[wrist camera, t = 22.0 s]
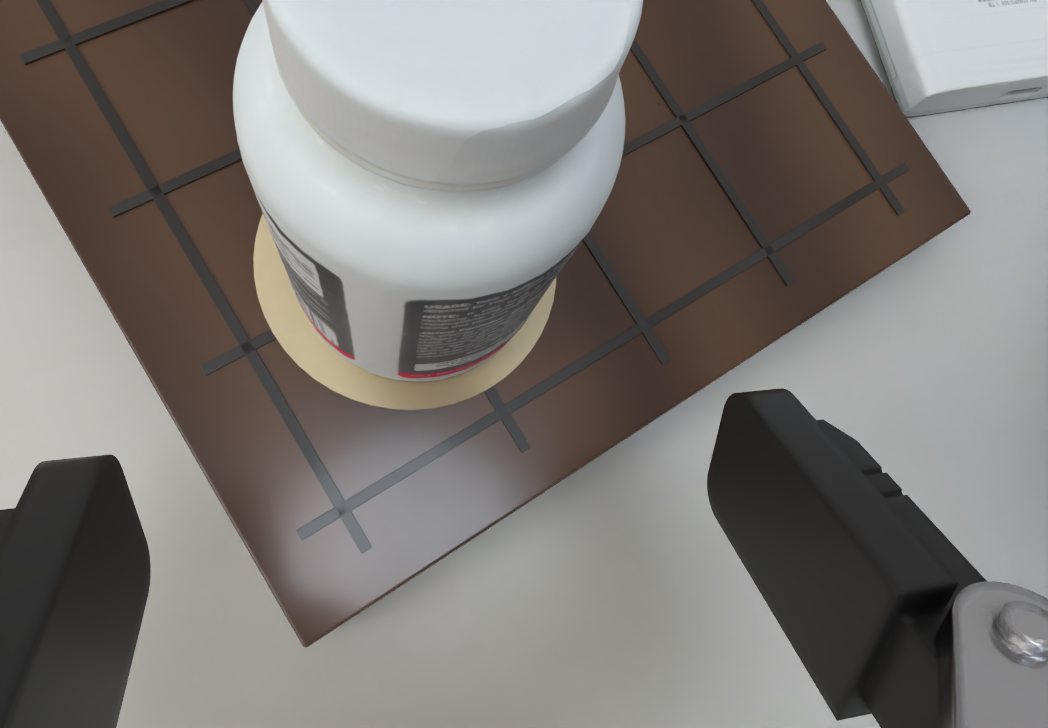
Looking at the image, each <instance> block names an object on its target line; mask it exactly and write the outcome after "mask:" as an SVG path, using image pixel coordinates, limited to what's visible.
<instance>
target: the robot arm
mask: <svg viewBox="0 0 1048 728" xmlns="http://www.w3.org/2000/svg"><path fill="white" fill-rule="evenodd" d="M881 468H882V467H881V466H880V465H879V464H878V463H877V462H876V461H875V460H874V459H873V458H872V456H871V455H870V454H869V453H868V452H867V451H866V450H865V449H864V448H863V447H862V446H861V445H860V443H859V442H858V441H856V440H855V439H853V438H852V437H850V436H848V435H847V434H845V433H844V432H842V431H840V430H839V429H837V428H836V427H834V426H833V425H831V424H829V423H828V422H826V421H825V420H815V419H814V417H813V416H812V415H811V414H810V413H809V412H808V411H807V409H806V408H805V407H804V406H803V405H802V404H801V403H800V402H799V400H798V399H797V398H796V397H795V396H794V395H793V394H792V393H791V392H790V391H788V390H786V389H771V390H762V391H752V392H742V393H734V394H732V395H731V396H729V398H728V399H727V401H726V403H725V406H724V410H723V414H722V418H721V422H720V426H719V430H718V435H717V439H716V443H715V447H714V451H713V455H712V459H711V463H710V468H709V472H708V479H707V488H708V496H709V501H710V505H711V508H712V511H713V513H714V515H715V517H716V519H717V521H718V522H719V524H720V526H721V527H722V529H723V531H724V532H725V534H726V536H727V537H728V539H729V541H730V542H731V544H732V546H733V547H734V549H735V551H736V552H737V554H738V556H739V558H740V559H741V561H742V563H743V564H744V566H745V568H746V569H747V571H748V573H749V574H750V576H751V578H752V579H753V581H754V583H755V584H756V586H757V588H758V589H759V591H760V593H761V594H762V596H763V598H764V599H765V601H766V603H767V604H768V606H769V608H770V609H771V611H772V613H773V614H774V616H775V618H776V619H777V621H778V623H779V624H780V626H781V628H782V629H783V631H784V633H785V634H786V636H787V638H788V639H789V641H790V643H791V644H792V646H793V648H794V649H795V651H796V653H797V654H798V656H799V658H800V659H801V661H802V663H803V664H804V666H805V668H806V669H807V671H808V673H809V674H810V676H811V678H812V679H813V681H814V683H815V684H816V686H817V688H818V689H819V691H820V693H821V694H822V696H823V698H824V700H825V701H826V703H827V705H828V706H829V708H830V710H831V711H832V713H833V715H834V716H835V718H836V720H842V719H847V718H852V717H856V716H861V715H866V714H871V713H872V714H873V716H874V718H875V719H876V721H877V722H878V724H879V725H880V727H881V728H1048V599H1046V598H1045V597H1043V596H1041V595H1039V594H1037V593H1034V592H1032V591H1030V590H1027V589H1025V588H1022V587H1019V586H1015V585H1012V584H1008V583H1001V582H987V581H986V580H985V579H984V578H983V577H982V576H981V575H980V573H979V572H978V571H977V570H976V569H975V568H974V567H973V566H972V565H971V564H970V563H969V562H968V560H967V559H966V558H965V557H964V556H963V555H962V554H961V553H960V552H959V551H958V550H957V549H956V547H955V546H954V545H953V544H952V543H951V542H950V541H949V540H948V539H947V538H946V537H945V536H944V534H943V533H942V532H941V531H940V530H939V529H938V528H937V527H936V526H935V525H934V524H933V523H932V521H931V520H930V519H929V518H928V517H927V516H926V515H925V514H924V513H923V512H922V511H921V510H920V508H919V507H918V506H917V505H916V504H915V503H914V502H913V501H912V500H911V499H910V498H909V497H908V495H904V496H903V494H902V489H901V488H900V487H899V486H898V485H897V484H896V482H895V481H894V480H893V479H892V478H891V477H890V476H889V475H888V474H887V473H882V470H881ZM149 586H150V556H149V549H148V545H147V541H146V538H145V535H144V532H143V529H142V526H141V523H140V520H139V517H138V514H137V511H136V508H135V505H134V502H133V500H132V497H131V494H130V491H129V488H128V485H127V482H126V479H125V476H124V473H123V470H122V467H121V465H120V463H119V461H118V460H117V458H116V457H115V456H113V455H102V456H92V457H82V458H72V459H62V460H52V461H44V462H41V463H39V464H38V465H37V466H36V467H35V469H34V471H33V473H32V475H31V477H30V479H29V481H28V483H27V485H26V487H25V489H24V492H23V494H22V496H21V498H20V500H19V502H18V504H17V506H16V508H14V509H5V510H0V728H116V726H117V722H118V718H119V713H120V709H121V705H122V701H123V697H124V693H125V688H126V684H127V680H128V676H129V672H130V668H131V664H132V659H133V655H134V651H135V647H136V643H137V639H138V634H139V630H140V626H141V622H142V618H143V614H144V610H145V605H146V601H147V597H148V592H149Z"/></svg>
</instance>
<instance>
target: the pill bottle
mask: <svg viewBox="0 0 1048 728" xmlns="http://www.w3.org/2000/svg"><path fill="white" fill-rule="evenodd" d="M642 6H643V0H262V3H261V4H260V6H259V8H258V9H257V11H256V13H255V14H254V16H253V18H252V20H251V22H250V24H249V26H248V28H247V31H246V33H245V36H244V39H243V41H242V44H241V47H240V50H239V53H238V57H237V62H236V67H235V73H234V83H233V114H234V122H235V128H236V133H237V141H238V145H239V148H240V152H241V156H242V160H243V164H244V166H245V169H246V171H247V174H248V176H249V179H250V181H251V184H252V187H253V189H254V192H255V195H256V197H257V200H258V202H259V205H260V207H261V209H262V212H263V215H264V218H265V221H266V223H267V225H268V227H269V230H270V233H271V235H272V237H273V240H274V242H275V244H276V247H277V249H278V252H279V255H280V257H281V260H282V262H283V264H284V266H285V269H286V271H287V274H288V277H289V280H290V283H291V286H292V288H293V290H294V293H295V295H296V298H297V300H298V302H299V304H300V306H301V308H302V310H303V311H304V313H305V315H306V317H307V318H308V320H309V322H310V323H311V325H312V326H313V328H314V329H315V331H316V332H317V333H318V335H319V336H320V337H321V338H322V339H323V340H324V342H325V343H326V344H327V345H328V346H329V347H330V348H331V349H333V350H334V351H335V352H336V353H337V354H339V355H340V356H341V357H343V358H344V359H346V360H347V361H349V362H350V363H352V364H354V365H356V366H358V367H360V368H362V369H363V370H365V371H367V372H370V373H373V374H376V375H379V376H382V377H386V378H390V379H394V380H402V381H414V382H426V381H436V380H442V379H446V378H449V377H452V376H456V375H459V374H462V373H465V372H467V371H469V370H472V369H473V368H475V367H477V366H479V365H481V364H482V363H484V362H485V361H487V360H488V359H490V358H492V357H493V356H494V355H495V354H496V353H498V352H499V351H500V350H501V349H502V348H503V347H504V346H505V345H506V344H507V343H508V342H509V341H510V340H511V339H512V337H513V336H514V335H515V334H516V333H517V332H518V331H519V329H520V328H521V327H522V326H523V325H524V323H525V322H526V320H527V319H528V317H529V315H530V314H531V313H532V311H533V310H534V308H535V307H536V305H537V304H538V302H539V301H540V299H541V298H542V297H543V295H544V294H545V292H546V291H547V289H548V288H549V286H550V285H551V283H552V282H553V281H554V279H555V278H556V276H557V275H558V274H559V272H560V271H561V270H562V268H563V267H564V265H565V264H566V263H567V261H568V260H569V259H570V257H571V256H572V255H573V254H574V252H575V250H576V249H577V248H578V246H579V245H580V243H581V242H582V240H583V239H584V238H585V236H586V235H587V234H588V232H589V231H590V229H591V227H592V226H593V224H594V223H595V221H596V219H597V218H598V216H599V214H600V212H601V210H602V209H603V207H604V205H605V203H606V201H607V199H608V197H609V195H610V193H611V190H612V188H613V186H614V183H615V180H616V176H617V173H618V170H619V167H620V163H621V159H622V154H623V147H624V140H625V122H626V121H625V107H624V98H623V92H622V86H621V82H620V78H619V72H620V69H621V67H622V65H623V63H624V61H625V59H626V57H627V55H628V52H629V50H630V48H631V45H632V43H633V41H634V38H635V35H636V32H637V29H638V25H639V22H640V18H641V13H642Z"/></svg>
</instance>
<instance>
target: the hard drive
mask: <svg viewBox="0 0 1048 728" xmlns="http://www.w3.org/2000/svg"><path fill="white" fill-rule="evenodd" d="M861 1H862V4H863V7H864V10H865V13H866V16H867V19H868V22H869V25H870V27H871V30H872V33H873V36H874V39H875V42H876V44H877V47H878V50H879V53H880V56H881V59H882V62H883V65H884V67H885V70H886V73H887V76H888V79H889V81H890V84H891V87H892V90H893V93H894V96H895V98H896V101H897V103H898V106H899V108H900V109H901V111H902V112H903V114H904V115H905V116H907V117H909V116H921V115H928V114H934V113H941V112H948V111H955V110H962V109H969V108H975V107H982V106H988V105H995V104H1001V103H1009V102H1015V101H1022V100H1029V99H1035V98H1042V97H1048V0H861Z"/></svg>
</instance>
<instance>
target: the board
mask: <svg viewBox="0 0 1048 728" xmlns="http://www.w3.org/2000/svg"><path fill="white" fill-rule="evenodd" d="M261 3H262V0H0V120H1V122H2V123H3V125H4V127H5V129H6V130H7V132H8V134H9V136H10V137H11V139H12V141H13V143H14V144H15V146H16V148H17V150H18V151H19V153H20V155H21V156H22V158H23V160H24V162H25V163H26V165H27V167H28V169H29V170H30V172H31V174H32V176H33V177H34V179H35V181H36V183H37V184H38V186H39V188H40V190H41V191H42V193H43V195H44V196H45V198H46V200H47V202H48V203H49V205H50V207H51V209H52V210H53V212H54V214H55V216H56V217H57V219H58V221H59V223H60V224H61V226H62V228H63V230H64V231H65V233H66V235H67V236H68V238H69V240H70V242H71V243H72V245H73V247H74V249H75V250H76V252H77V254H78V256H79V257H80V259H81V261H82V263H83V264H84V266H85V268H86V269H87V271H88V273H89V275H90V276H91V278H92V280H93V282H94V283H95V285H96V287H97V289H98V290H99V292H100V294H101V296H102V297H103V299H104V301H105V303H106V304H107V306H108V308H109V309H110V311H111V313H112V315H113V316H114V318H115V320H116V322H117V323H118V325H119V327H120V329H121V330H122V332H123V334H124V336H125V337H126V339H127V341H128V343H129V344H130V346H131V348H132V349H133V351H134V353H135V355H136V356H137V358H138V360H139V362H140V363H141V365H142V367H143V369H144V370H145V372H146V374H147V376H148V377H149V379H150V381H151V383H152V384H153V386H154V388H155V389H156V391H157V393H158V395H159V396H160V398H161V400H162V402H163V403H164V405H165V407H166V409H167V410H168V412H169V414H170V416H171V417H172V419H173V421H174V423H175V424H176V426H177V428H178V429H179V431H180V433H181V435H182V436H183V438H184V440H185V442H186V443H187V445H188V447H189V449H190V450H191V452H192V454H193V456H194V457H195V459H196V461H197V463H198V464H199V466H200V468H201V469H202V471H203V473H204V475H205V476H206V478H207V480H208V482H209V483H210V485H211V487H212V489H213V490H214V492H215V494H216V496H217V497H218V499H219V501H220V502H221V504H222V506H223V508H224V509H225V511H226V513H227V515H228V516H229V518H230V520H231V522H232V523H233V525H234V527H235V529H236V530H237V532H238V534H239V536H240V537H241V539H242V541H243V542H244V544H245V546H246V548H247V549H248V551H249V553H250V555H251V556H252V558H253V560H254V562H255V563H256V565H257V567H258V569H259V570H260V572H261V574H262V576H263V577H264V579H265V581H266V582H267V584H268V586H269V588H270V589H271V591H272V593H273V595H274V596H275V598H276V600H277V602H278V603H279V605H280V607H281V609H282V610H283V612H284V614H285V616H286V617H287V619H288V621H289V622H290V624H291V626H292V628H293V629H294V631H295V633H296V635H297V636H298V638H299V640H300V642H301V643H302V645H303V646H304V647H308V646H310V645H311V644H313V643H314V642H316V641H317V640H319V639H320V638H322V637H323V636H325V635H326V634H328V633H330V632H331V631H333V630H334V629H336V628H337V627H339V626H340V625H342V624H343V623H345V622H346V621H348V620H349V619H351V618H352V617H354V616H356V615H357V614H359V613H360V612H362V611H363V610H365V609H366V608H368V607H369V606H371V605H372V604H374V603H375V602H377V601H378V600H380V599H382V598H383V597H385V596H386V595H388V594H389V593H391V592H392V591H394V590H395V589H397V588H398V587H400V586H401V585H403V584H404V583H406V582H408V581H409V580H411V579H412V578H414V577H415V576H417V575H418V574H420V573H421V572H423V571H424V570H426V569H427V568H429V567H430V566H432V565H434V564H435V563H437V562H438V561H440V560H441V559H443V558H444V557H446V556H447V555H449V554H450V553H452V552H453V551H455V550H456V549H458V548H460V547H461V546H463V545H464V544H466V543H467V542H469V541H470V540H472V539H473V538H475V537H476V536H478V535H479V534H481V533H483V532H484V531H486V530H487V529H489V528H490V527H492V526H493V525H495V524H496V523H498V522H499V521H501V520H502V519H504V518H505V517H507V516H509V515H510V514H512V513H513V512H515V511H516V510H518V509H519V508H521V507H522V506H524V505H525V504H527V503H528V502H530V501H531V500H533V499H535V498H536V497H538V496H539V495H541V494H542V493H544V492H545V491H547V490H548V489H550V488H551V487H553V486H554V485H556V484H557V483H559V482H561V481H562V480H564V479H565V478H567V477H568V476H570V475H571V474H573V473H574V472H576V471H577V470H579V469H580V468H582V467H583V466H585V465H587V464H588V463H590V462H591V461H593V460H594V459H596V458H597V457H599V456H600V455H602V454H603V453H605V452H606V451H608V450H609V449H611V448H613V447H614V446H616V445H617V444H619V443H620V442H622V441H623V440H625V439H626V438H628V437H629V436H631V435H632V434H634V433H635V432H637V431H639V430H640V429H642V428H643V427H645V426H646V425H648V424H649V423H651V422H652V421H654V420H655V419H657V418H658V417H660V416H661V415H663V414H665V413H666V412H668V411H669V410H671V409H672V408H674V407H675V406H677V405H678V404H680V403H681V402H683V401H684V400H686V399H687V398H689V397H691V396H692V395H694V394H695V393H697V392H698V391H700V390H701V389H703V388H704V387H706V386H707V385H709V384H710V383H712V382H713V381H715V380H717V379H718V378H720V377H721V376H723V375H724V374H726V373H727V372H729V371H730V370H732V369H733V368H735V367H736V366H738V365H739V364H741V363H743V362H744V361H746V360H747V359H749V358H750V357H752V356H753V355H755V354H756V353H758V352H759V351H761V350H762V349H764V348H765V347H767V346H769V345H770V344H772V343H773V342H775V341H776V340H778V339H779V338H781V337H782V336H784V335H785V334H787V333H788V332H790V331H791V330H793V329H795V328H796V327H798V326H799V325H801V324H802V323H804V322H805V321H807V320H808V319H810V318H811V317H813V316H814V315H816V314H817V313H819V312H821V311H822V310H824V309H825V308H827V307H828V306H830V305H831V304H833V303H834V302H836V301H837V300H839V299H840V298H842V297H843V296H845V295H847V294H848V293H850V292H851V291H853V290H854V289H856V288H857V287H859V286H860V285H862V284H863V283H865V282H866V281H868V280H869V279H871V278H873V277H874V276H876V275H877V274H879V273H880V272H882V271H883V270H885V269H886V268H888V267H889V266H891V265H892V264H894V263H895V262H897V261H899V260H900V259H902V258H903V257H905V256H906V255H908V254H909V253H911V252H912V251H914V250H915V249H917V248H918V247H920V246H921V245H923V244H925V243H926V242H928V241H929V240H931V239H932V238H934V237H935V236H937V235H938V234H940V233H941V232H943V231H944V230H946V229H947V228H949V227H951V226H952V225H954V224H955V223H957V222H958V221H960V220H961V219H963V218H964V217H966V216H967V215H969V214H970V210H969V208H968V207H967V205H966V204H965V202H964V201H963V199H962V198H961V197H960V195H959V194H958V192H957V191H956V189H955V188H954V186H953V185H952V183H951V182H950V181H949V179H948V178H947V176H946V175H945V173H944V172H943V170H942V169H941V168H940V166H939V165H938V163H937V162H936V160H935V159H934V157H933V156H932V154H931V153H930V152H929V150H928V149H927V147H926V146H925V144H924V143H923V141H922V140H921V138H920V137H919V136H918V134H917V133H916V131H915V130H914V128H913V127H912V125H911V124H910V122H909V121H908V120H907V118H906V117H905V115H904V114H903V112H902V111H901V109H900V108H899V107H898V105H897V104H896V102H895V101H894V99H893V98H892V96H891V95H890V93H889V92H888V91H887V89H886V88H885V86H884V85H883V83H882V82H881V80H880V79H879V77H878V76H877V75H876V73H875V72H874V70H873V69H872V67H871V66H870V64H869V63H868V61H867V60H866V59H865V57H864V56H863V54H862V53H861V51H860V50H859V48H858V47H857V46H856V44H855V43H854V41H853V40H852V38H851V37H850V35H849V34H848V32H847V31H846V30H845V28H844V27H843V25H842V24H841V22H840V21H839V19H838V18H837V16H836V15H835V14H834V12H833V11H832V9H831V8H830V6H829V5H828V3H827V2H826V0H643V6H642V13H641V18H640V22H639V25H638V29H637V32H636V35H635V38H634V41H633V43H632V45H631V48H630V50H629V52H628V55H627V57H626V59H625V61H624V63H623V65H622V67H621V69H620V72H619V78H620V82H621V86H622V92H623V98H624V107H625V121H626V122H625V140H624V147H623V154H622V159H621V163H620V167H619V170H618V173H617V176H616V180H615V183H614V186H613V188H612V190H611V193H610V195H609V197H608V199H607V201H606V203H605V205H604V207H603V209H602V210H601V212H600V214H599V216H598V218H597V219H596V221H595V223H594V224H593V226H592V227H591V229H590V231H589V232H588V234H587V235H586V236H585V238H584V239H583V240H582V242H581V243H580V245H579V246H578V248H577V249H576V250H575V252H574V254H573V255H572V256H571V257H570V259H569V260H568V261H567V263H566V264H565V265H564V267H563V268H562V270H561V271H560V272H559V274H558V275H557V276H556V278H555V279H554V281H553V282H552V283H551V285H550V286H549V288H548V289H547V291H546V292H545V294H544V295H543V297H542V298H541V299H540V301H539V302H538V304H537V305H536V307H535V308H534V310H533V311H532V313H531V314H530V315H529V317H528V319H527V320H526V322H525V323H524V325H523V326H522V327H521V328H520V329H519V331H518V332H517V333H516V334H515V335H514V336H513V337H512V339H511V340H510V341H509V342H508V343H507V344H506V345H505V346H504V347H503V348H502V349H501V350H500V351H499V352H498V353H496V354H495V355H494V356H493V357H492V358H490V359H488V360H487V361H485V362H484V363H482V364H481V365H479V366H477V367H475V368H473V369H472V370H469V371H467V372H465V373H462V374H459V375H456V376H452V377H449V378H446V379H442V380H436V381H426V382H414V381H402V380H394V379H390V378H386V377H382V376H379V375H376V374H373V373H370V372H367V371H365V370H363V369H362V368H360V367H358V366H356V365H354V364H352V363H350V362H349V361H347V360H346V359H344V358H343V357H341V356H340V355H339V354H337V353H336V352H335V351H334V350H333V349H331V348H330V347H329V346H328V345H327V344H326V343H325V342H324V340H323V339H322V338H321V337H320V336H319V335H318V333H317V332H316V331H315V329H314V328H313V326H312V325H311V323H310V322H309V320H308V318H307V317H306V315H305V313H304V311H303V310H302V308H301V306H300V304H299V302H298V300H297V298H296V295H295V293H294V290H293V288H292V286H291V283H290V280H289V277H288V274H287V271H286V269H285V266H284V264H283V262H282V260H281V257H280V255H279V252H278V249H277V247H276V244H275V242H274V240H273V237H272V235H271V233H270V230H269V227H268V225H267V223H266V221H265V218H264V215H263V212H262V209H261V207H260V205H259V202H258V200H257V197H256V195H255V192H254V189H253V187H252V184H251V181H250V179H249V176H248V174H247V171H246V169H245V166H244V164H243V160H242V156H241V152H240V148H239V145H238V141H237V133H236V128H235V122H234V114H233V83H234V73H235V67H236V62H237V57H238V53H239V50H240V47H241V44H242V41H243V39H244V36H245V33H246V31H247V28H248V26H249V24H250V22H251V20H252V18H253V16H254V14H255V13H256V11H257V9H258V8H259V6H260V4H261Z"/></svg>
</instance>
